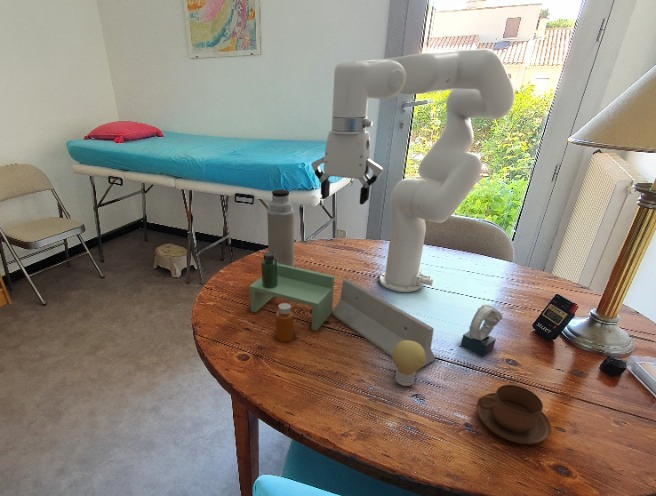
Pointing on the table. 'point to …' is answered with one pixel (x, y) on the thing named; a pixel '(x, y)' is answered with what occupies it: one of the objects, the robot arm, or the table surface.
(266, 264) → the green bottle
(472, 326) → the watch
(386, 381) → the table surface
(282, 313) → the amber bottle
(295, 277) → the spice rack
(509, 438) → the cup and saucer
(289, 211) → the thermos bottle
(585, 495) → the table surface
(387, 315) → the barrier
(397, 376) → the light bulb
